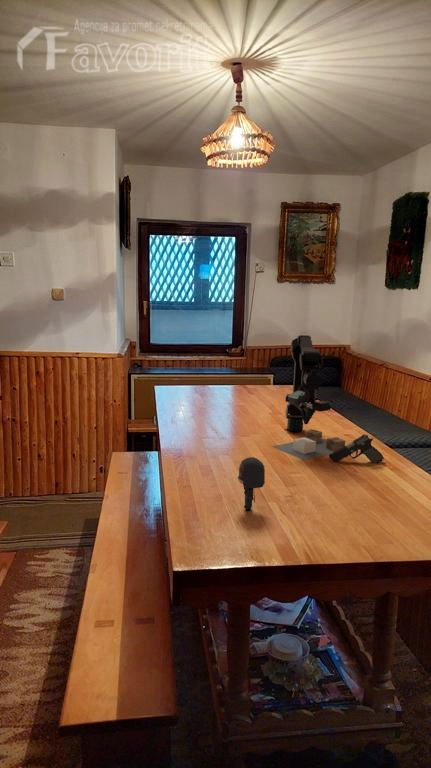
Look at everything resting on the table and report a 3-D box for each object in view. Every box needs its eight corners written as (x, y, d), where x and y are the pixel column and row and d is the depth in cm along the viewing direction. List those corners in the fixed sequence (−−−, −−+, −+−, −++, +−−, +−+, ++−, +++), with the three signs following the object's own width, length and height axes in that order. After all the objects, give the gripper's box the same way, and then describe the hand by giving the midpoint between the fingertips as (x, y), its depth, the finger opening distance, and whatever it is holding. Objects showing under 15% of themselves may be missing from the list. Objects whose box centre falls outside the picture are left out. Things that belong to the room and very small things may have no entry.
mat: (271, 447, 196) (271, 446, 196) (317, 437, 210) (317, 437, 210) (303, 461, 181) (303, 460, 181) (351, 449, 196) (351, 448, 196)
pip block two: (326, 448, 196) (326, 437, 195) (335, 446, 198) (336, 436, 197) (334, 451, 192) (335, 441, 191) (344, 450, 194) (345, 440, 193)
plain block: (292, 449, 193) (293, 439, 192) (304, 447, 196) (304, 437, 196) (303, 453, 188) (304, 443, 187) (315, 451, 191) (315, 441, 191)
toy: (234, 502, 145) (236, 452, 142) (260, 501, 146) (263, 453, 143) (238, 516, 136) (240, 464, 133) (266, 516, 137) (269, 464, 134)
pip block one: (304, 440, 205) (305, 430, 204) (311, 438, 208) (312, 428, 207) (314, 443, 201) (315, 433, 200) (321, 441, 205) (322, 431, 204)
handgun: (383, 457, 182) (368, 430, 180) (385, 459, 181) (369, 432, 178) (343, 480, 184) (327, 454, 182) (344, 482, 182) (328, 456, 180)
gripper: (276, 381, 190) (273, 420, 193) (311, 390, 175) (308, 433, 178) (297, 379, 196) (294, 417, 199) (333, 387, 181) (329, 429, 184)
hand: (305, 424), depth 190 cm, fingers closed
